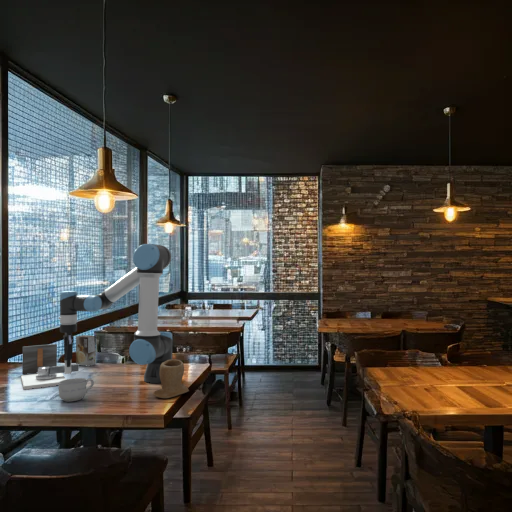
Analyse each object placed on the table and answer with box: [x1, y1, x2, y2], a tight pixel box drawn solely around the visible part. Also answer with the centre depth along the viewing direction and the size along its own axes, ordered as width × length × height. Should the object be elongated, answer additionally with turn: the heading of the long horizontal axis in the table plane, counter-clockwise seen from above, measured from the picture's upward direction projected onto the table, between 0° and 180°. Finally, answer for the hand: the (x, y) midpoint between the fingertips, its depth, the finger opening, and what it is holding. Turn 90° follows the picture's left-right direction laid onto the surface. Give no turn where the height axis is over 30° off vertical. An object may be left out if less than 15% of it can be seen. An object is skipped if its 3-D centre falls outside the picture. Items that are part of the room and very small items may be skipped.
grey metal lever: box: [36, 363, 79, 380], centre depth 220 cm, size 19×9×5 cm, turn 120°
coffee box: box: [75, 334, 97, 367], centre depth 255 cm, size 9×6×16 cm
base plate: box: [20, 373, 67, 390], centre depth 217 cm, size 25×18×2 cm
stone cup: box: [153, 358, 190, 399], centre depth 191 cm, size 15×12×15 cm
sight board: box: [21, 343, 58, 375], centre depth 235 cm, size 2×16×14 cm, turn 120°
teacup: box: [58, 377, 95, 403], centre depth 186 cm, size 14×11×8 cm
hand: (68, 373), depth 216 cm, fingers closed
